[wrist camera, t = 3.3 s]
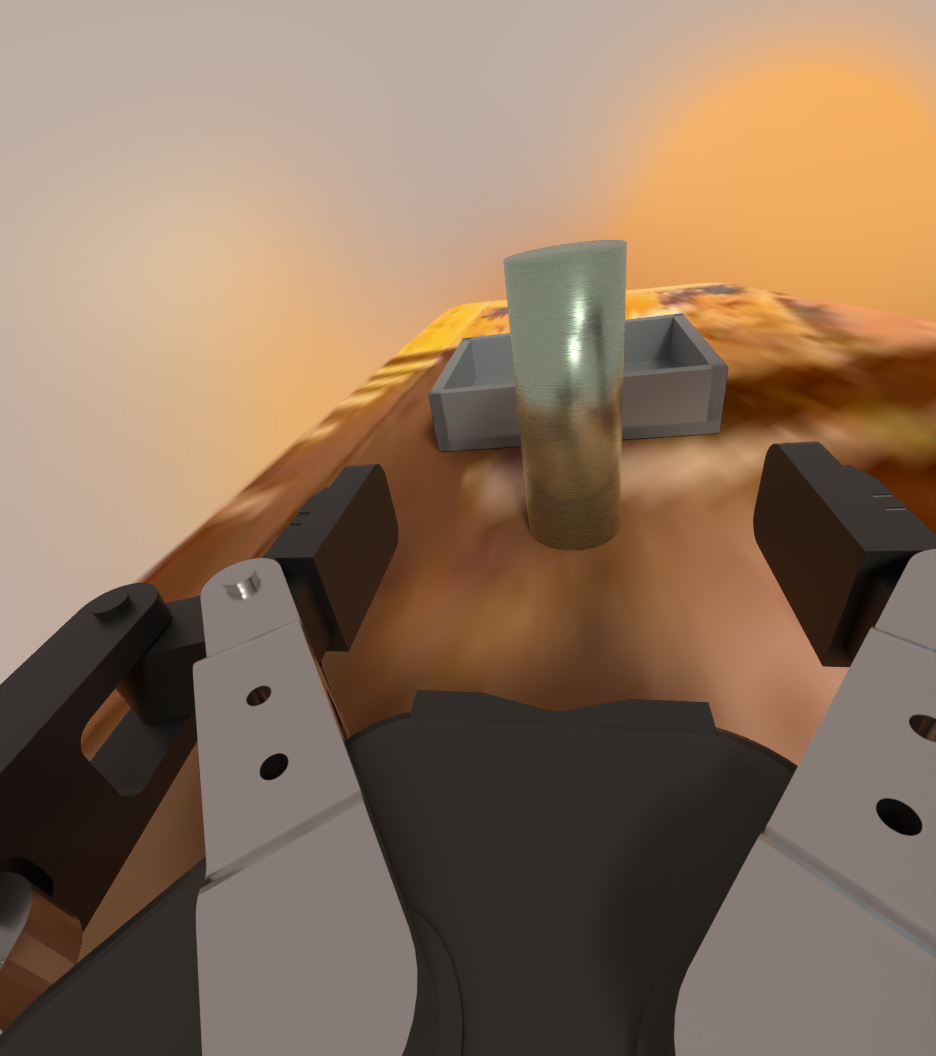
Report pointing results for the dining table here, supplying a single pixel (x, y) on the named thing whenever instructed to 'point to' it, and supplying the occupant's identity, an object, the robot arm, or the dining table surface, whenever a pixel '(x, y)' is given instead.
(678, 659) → the dining table surface
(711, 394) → the tote
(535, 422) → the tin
